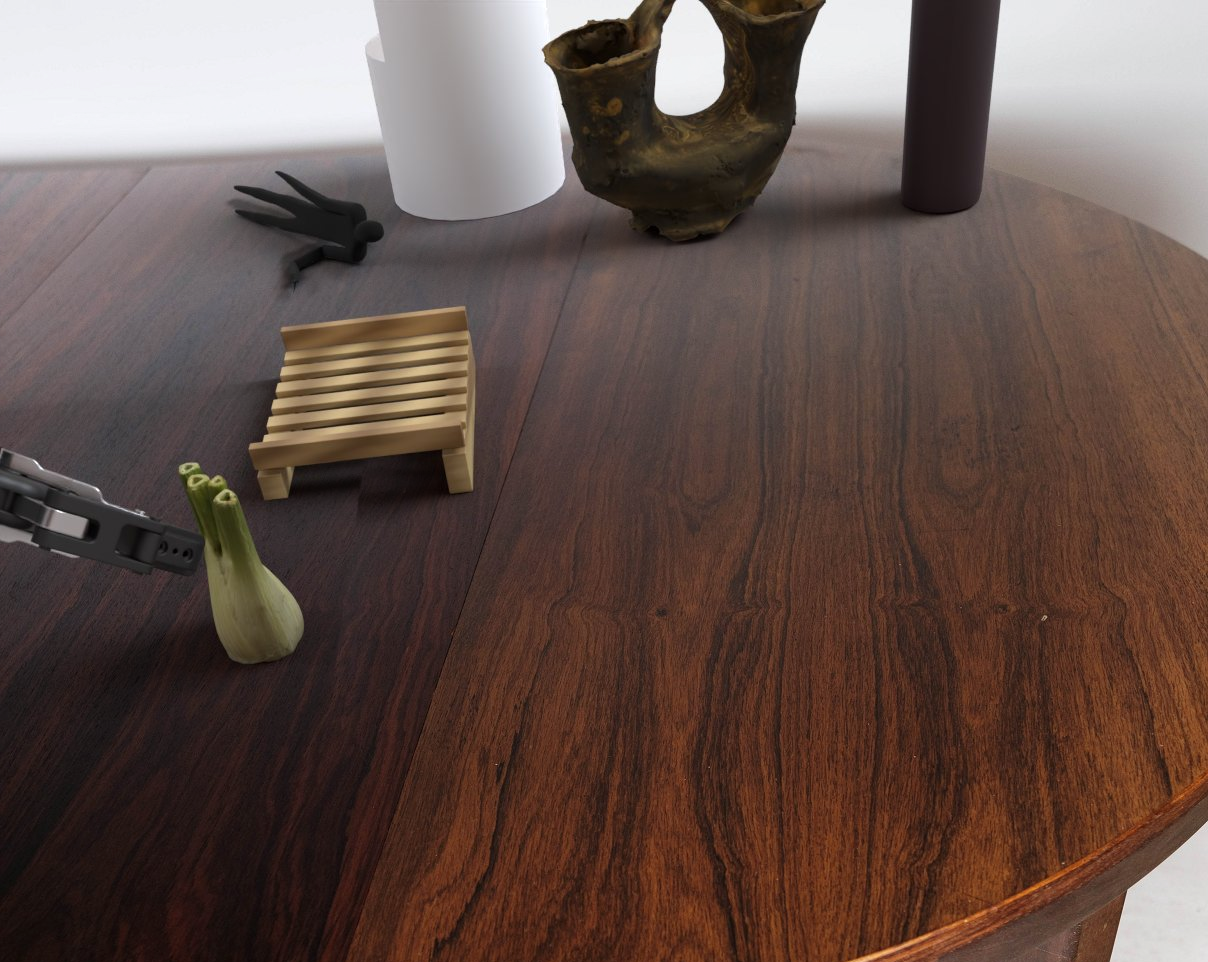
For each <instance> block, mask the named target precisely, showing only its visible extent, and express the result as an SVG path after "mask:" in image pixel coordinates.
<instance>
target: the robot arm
mask: <svg viewBox="0 0 1208 962" xmlns="http://www.w3.org/2000/svg"><path fill="white" fill-rule="evenodd" d="M161 520H162V519H161V518H159V517H157V516H153V515H147V511H144V510H141V509H138V508H135V509H134V510H132V509H130V508H126V507H123V506H122V505H121V506H120V505H118V504H115V503H112V502H109V501H106V499H104V497H103V493H102V490H101V489H99V487H97V486H96V485H93V484H90V483H87V482H85V481H82V480H79V479H77V478H73V477H70V476H67V475H64V474H62V473H58V472H56V471H53V470H50V469H48V468H44V467H43V466H42V465H41V464H40V462H39V461H38V459H35V458H32V457H30V456H26V455H24V454H22V453H18V452H16V451H13V450H10V449H6V448H4V447H3V446H2V445H0V542H2V543H6V544H12V543H15V542H21V543H24V544H27V545H30V546H33V547H36V548H39V549H41V550H43V551H48V552H52V553H55V554H58V555H60V556H65V557H68V558H70V559H79V558H84V559H87V560H91V561H95V562H99V563H102V564H106V565H109V566H113V567H117V568H122V569H125V570H129V571H131V573H133V574H135V575H139V576H143V575H148V576H151V575H153V574H152V573H153V571H154V569H157V570H161V571H164V572H168V573H172V574H176V575H178V576H183V577H187V578H188V577H192V576H194V574H195V573H196V572H197V570H198V567H199V565H200V562H201V559H202V555H203V553H204V547H205V538H204V536H203V535H201V534H200V533H199V532H196V531H194V530H191V529H187V528H184V527H181V526H178V525H175V524H172V523H168V522H165V521H161Z"/></svg>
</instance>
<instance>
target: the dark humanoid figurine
mask: <svg viewBox="0 0 1208 962" xmlns="http://www.w3.org/2000/svg"><path fill="white" fill-rule="evenodd" d="M274 174H276V175H277V176H279V177H280V178H281V179H282V180H283V181H284V182H285V183H287V184H288V185H289V186H290V187H291V188H292V189H293V190H294V191H296V192H297V194H299V195H300V196H301V197H303V198H304V199H306V200H308V201H306V200H303V199H301V198H299V197H295V196H293V195H289V194H284V193H277V192H275V191H271V190H269V189H266V188H263V187H256V186H249V185H239V184H238V185H234V186H233V189H234V190H235V191H236V192H239V193H242V194H244V195H248V196H250V197H252V198H255V199H257V200H259V201H262V202H265V203H268V204H271V205H275V206H277V207H280V208H281V209H283V210H285V211H287V212H289V213H291V214H292V215H293V216H294V217H281V216H277V215H273V214H270V213H263V212H254V211H250V210H246V209H234V213H235V214H236V215H239V216H241V217H242V216H243V217H242V218H245V219H247V220H250V221H252V222H255V223H257V224H261V225H266V226H270V227H275V228H276V229H280V230H281V231H285V232H290V233H296V234H300V235H306V236H309V237H312V238H316V239H319V240H323V241H327V242H330V243H331V242H332V243H334V244H338V245H329V244H323V245H320V246H318V247H315V248H313V249H310V250H309V251H307V252H305V253H303V254H302V255H300V256H297V257H295V258H294V259H292V260H291V261H289V264H288V266H287V273H288V275H289V277H290V279H291V280H290V281H289V282H288V283H289V284H293V289H292V293H294V292H295V291H296V288H297V284H298V283H299V282H300V270H301V269H304V268H305V267H307V266H309V265H312V264H314V263H316V262H318V261H320V260H323V259H324V258H327V259H333V260H338V261H342V262H343V261H344V262H349V263H355V264H356V263H360V262H362V261H364V259H365V258H366V256H367V253H368V244H370V243H371V244H373V243H377V242H379V241H380V240H381V241H382V238H384V236H385V228H384V225H383V224H382V223H381V222H379V221H377V220H373V219H368V214H367V210H366V208H365V207H364V205H362V204H361V203H359V202H355V201H349V200H340V199H336V198H330V197H328V196H326V195H324V194H322V193H320V192H318V191H317V190H315V189H313V188H311V187H309V186H308V185H307V184H305V183H303V182H302V181H300V180H299V179H297V178H295V177H293V176H291V175H289V174H288V173H286V172H284V171H280V170H275V171H274ZM339 245H340V246H339Z"/></svg>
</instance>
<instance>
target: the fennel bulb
mask: <svg viewBox="0 0 1208 962" xmlns="http://www.w3.org/2000/svg"><path fill="white" fill-rule="evenodd" d="M178 477H179V479H180V482H181V485H182V487H183V489H184V492H185V495H186V498H187V500H188V502H189V503H188V504H189V505H190V510H191V512H192V514H193V518H194V520H195V524H196V528H197V530H198V533H199V534H201V535H203V536H204V538H205V547H204V550H203V553H204V559H205V564H206V572H207V583H208V588H209V596H210V603H211V610H212V616H213V620H214V625H215V628H216V633H217V635H218V638H219V640H220V642H221V644H222V646H223V648H224V650H225V651H226V653H227V656H228V658H229V659H231V660H232V661H234V662H237V663H240V664H243V665H253V664H258V663H263V662H276V661H279V660H281V659H283V658H285V657H287V656H289V655H291V654H293V652H294V651H295V650H296V648H297V646H298V644H299V642H300V641H301V639H302V637H303V635H304V631H305V621H304V617H303V616H304V615H303V612H302V610H301V607H300V606H299V603H298V601H297V600H296V599H295V597H294V596H293V594H292V592H290V591H289V589H288V588H287V587H286V586H285V585H284V584H283V583H282V581H281V580H280V579H279V578H278V577H277V576H276V575H274V574H273V573H272V572H271V570H270V569H268V568H267V567H266V566H265V565H264V564H263V563H262V561H261V559H260V556H259V553H258V551H257V550H256V545H255V543H254V541H253V537H252V534H251V532H250V529H249V526H248V523H247V519H246V517H245V514H244V511H243V508H242V504H241V503H240V500H239V497H238V496H237V494H236V493H235V492H234V491H232V490H230V489H229V488H228V483H227V481H226V479H225V478H224V477H223V476H222V475H219V474H218V475H215V476H214V477H213V478H211V479H210V477H209V476H208V475H207V474H204V472H203V470H202V468H201V466H200V464H199V463H198V462H185V463H182V464H180V465H179V467H178Z"/></svg>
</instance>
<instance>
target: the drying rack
mask: <svg viewBox="0 0 1208 962" xmlns="http://www.w3.org/2000/svg"><path fill="white" fill-rule="evenodd" d="M280 336H281V339H282V342H283V346H284V349H285V351H286V352H285V354H284V358H283V363H284V366H282V367H281V370H280V372H279V373H280V374H279V378H280V381H281V382H277V385H276V389H275V396H276V399H273V401H272V405H271V409H270V410H271V414H272V416H268V420H267V423H266V430H267V433H268V434H264V435H263V439H262V441H260V442H252V443H249V446H248V453H249V456H250V460H251V462H252V465H253V468H254V471H258V473H257V477H256V478H257V481H258V485H259V487H260V491H261V493H262V497H263V500H264V501H270V500H279V499H280V500H281V499H288V498H289V494H290V489H291V486H292V480H293V477H294V471H295V467H300V466H308V465H316V464H317V465H318V464H326V463H334V462H335V463H336V462H343V461H351V460H361V459H371V458H378V457H386V456H395V455H404V454H405V455H406V454H411V453H412V454H413V453H421V452H430V451H438V450H442V453H441V457H442V462H443V463H442V464H443V467H444V472H445V476H446V483H447V487H448V491H449V494H451V495H452V494H459V493H469V492H473V491H474V464H475V463H474V462H475V461H474V458H475V422H476V421H475V419H476V418H475V415H476V414H475V413H476V412H475V411H476V372H477V371H476V369H477V367H476V361H475V356H474V355H475V354H474V349H473V344H472V338H471V333H470V331H469V320H468V315H467V309H466V306H465V305H459V306H453V307H445V308H444V307H443V308H435V309H428V310H427V309H426V310H419V311H409V312H401V313H393V314H384V315H383V314H382V315H375V316H367V317H358V318H350V319H340V320H333V321H324V322H316V323H306V324H298V325H289V326H282V327H281V329H280ZM434 414H435V415H434ZM425 415H426V416H425ZM406 417H408V418H406ZM389 419H390V420H389ZM380 420H381V421H380ZM364 422H365V423H364ZM321 427H322V428H321Z"/></svg>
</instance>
